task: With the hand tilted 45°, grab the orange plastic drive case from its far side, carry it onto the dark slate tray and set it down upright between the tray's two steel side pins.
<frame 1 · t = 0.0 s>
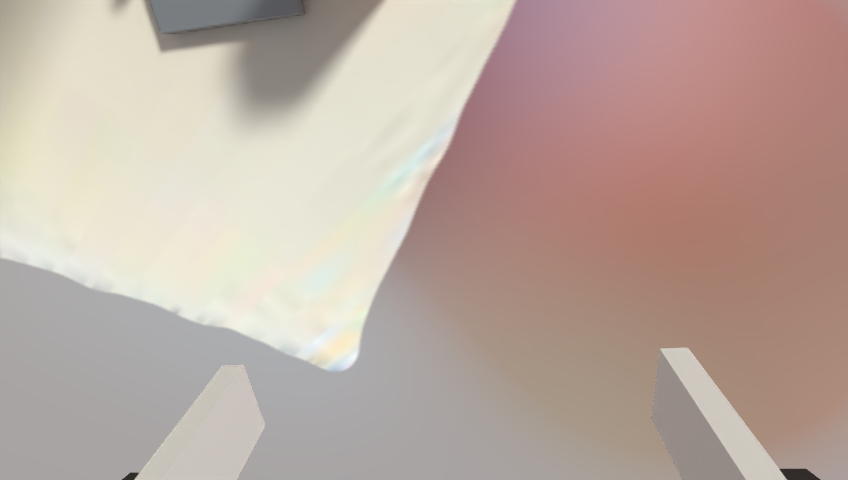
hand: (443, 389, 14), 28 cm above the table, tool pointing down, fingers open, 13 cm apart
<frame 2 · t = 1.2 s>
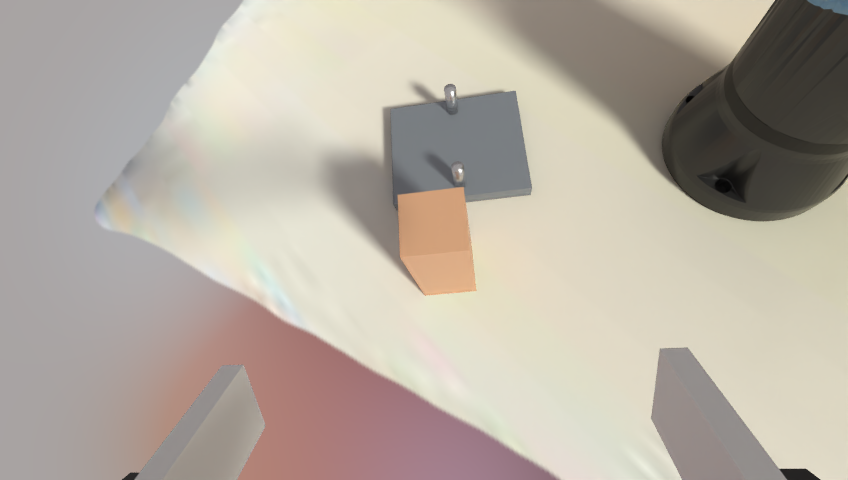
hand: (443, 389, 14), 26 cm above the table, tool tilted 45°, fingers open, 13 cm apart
pin tray: (457, 153, 46), on the table
drive case: (448, 268, 42), on the table
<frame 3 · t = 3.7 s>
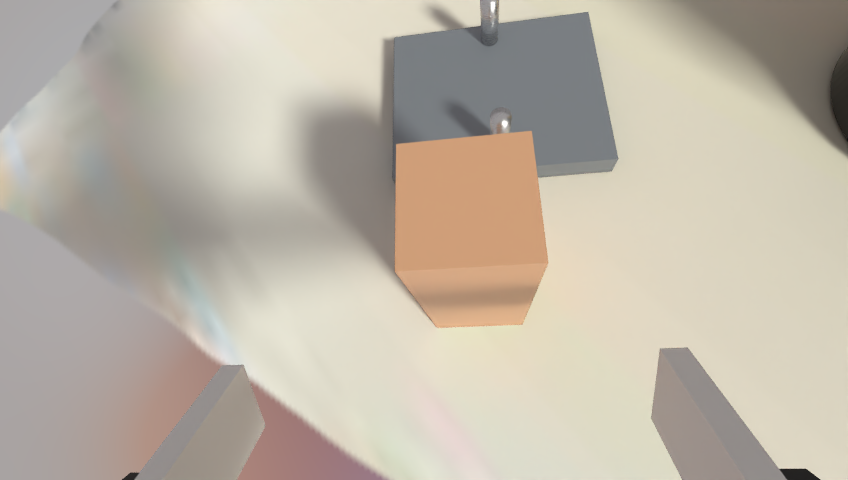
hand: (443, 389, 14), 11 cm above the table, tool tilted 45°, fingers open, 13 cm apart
pin tray: (494, 105, 30), on the table
drive case: (476, 284, 26), on the table
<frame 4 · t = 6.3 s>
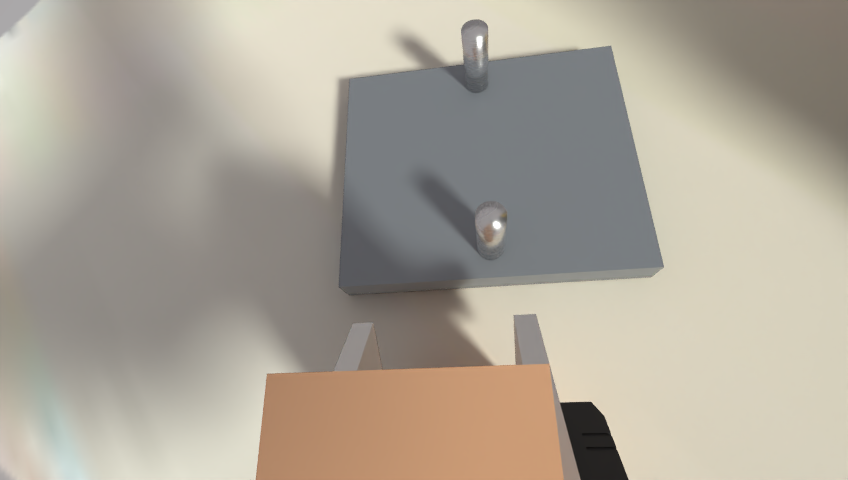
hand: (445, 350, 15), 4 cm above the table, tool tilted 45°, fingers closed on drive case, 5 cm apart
pin tray: (483, 174, 22), on the table
drive case: (458, 453, 18), on the table, touching gripper
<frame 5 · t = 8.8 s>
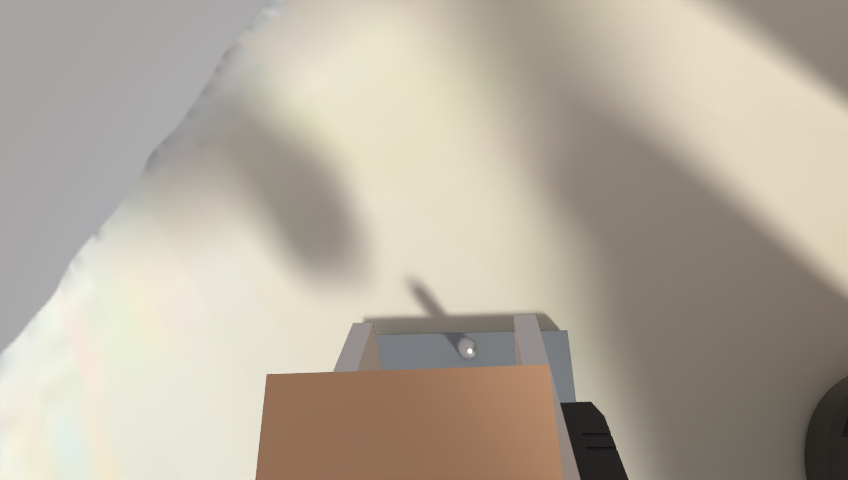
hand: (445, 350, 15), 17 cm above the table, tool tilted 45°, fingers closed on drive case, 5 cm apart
pin tray: (472, 421, 30), on the table
drive case: (458, 453, 18), point 13 cm above the table, touching gripper
when the fingers open (7 cm above the table, at t = 11.5 s): drive case drops 2 cm, resting on pin tray.
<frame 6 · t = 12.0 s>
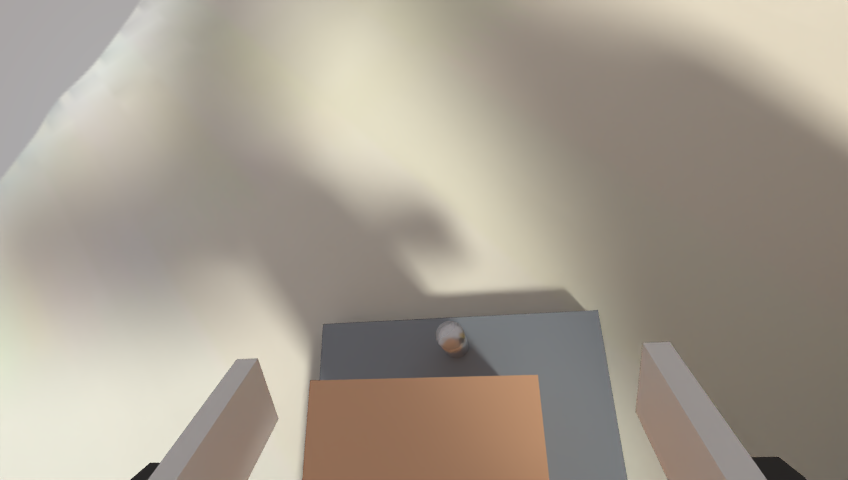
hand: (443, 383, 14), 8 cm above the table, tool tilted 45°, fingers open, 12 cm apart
pin tray: (463, 445, 21), on the table
drive case: (461, 449, 19), point 1 cm above the table, touching pin tray
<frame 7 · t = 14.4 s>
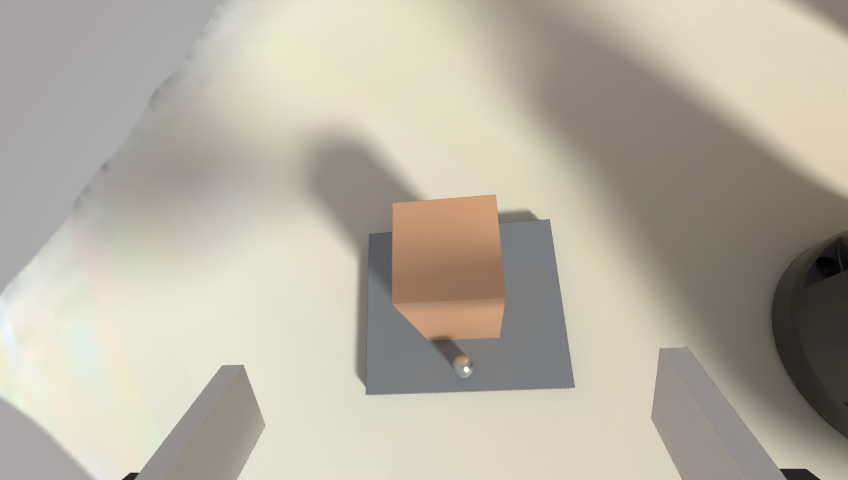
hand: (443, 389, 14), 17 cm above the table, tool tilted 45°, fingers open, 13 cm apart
pin tray: (462, 307, 32), on the table
drive case: (461, 304, 31), point 1 cm above the table, touching pin tray
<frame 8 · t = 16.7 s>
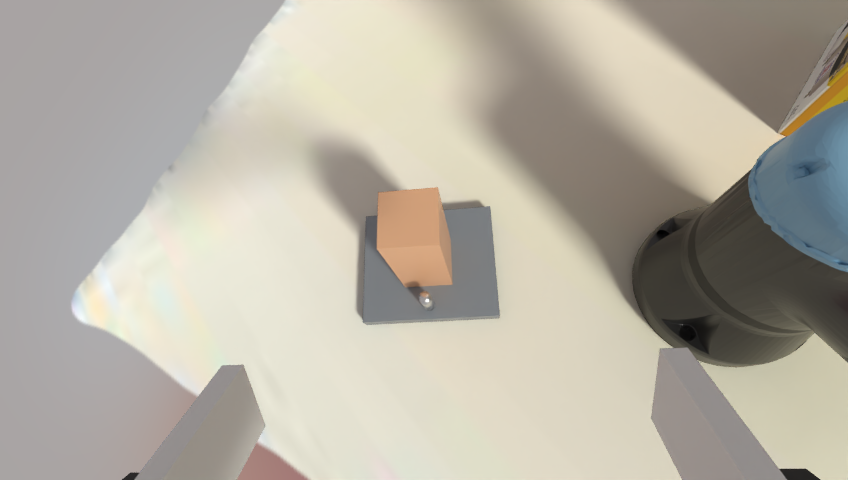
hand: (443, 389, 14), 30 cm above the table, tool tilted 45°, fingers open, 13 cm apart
pin tray: (430, 266, 46), on the table
drive case: (428, 263, 45), point 1 cm above the table, touching pin tray
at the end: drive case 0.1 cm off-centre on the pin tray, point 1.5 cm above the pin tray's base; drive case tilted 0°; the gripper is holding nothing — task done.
